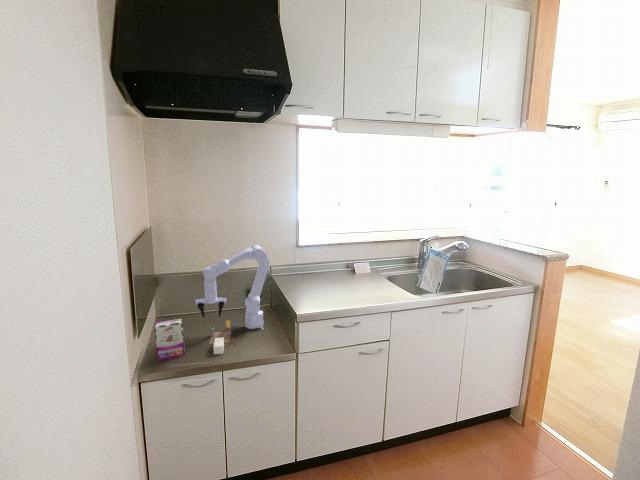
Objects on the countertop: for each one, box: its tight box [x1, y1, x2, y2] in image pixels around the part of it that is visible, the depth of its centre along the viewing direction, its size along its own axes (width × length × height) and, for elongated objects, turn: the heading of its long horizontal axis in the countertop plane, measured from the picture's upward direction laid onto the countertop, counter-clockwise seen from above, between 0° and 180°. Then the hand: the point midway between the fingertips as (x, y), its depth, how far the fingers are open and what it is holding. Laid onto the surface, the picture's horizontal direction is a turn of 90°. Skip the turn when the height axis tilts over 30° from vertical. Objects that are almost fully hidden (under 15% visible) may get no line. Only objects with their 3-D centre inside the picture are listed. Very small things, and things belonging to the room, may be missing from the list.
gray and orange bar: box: [225, 320, 246, 329], centre depth 167 cm, size 10×2×3 cm, turn 102°
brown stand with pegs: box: [209, 327, 232, 345], centre depth 164 cm, size 10×11×5 cm
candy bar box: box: [154, 317, 186, 362], centre depth 147 cm, size 11×5×16 cm, turn 114°
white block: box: [212, 337, 225, 355], centre depth 154 cm, size 4×8×4 cm, turn 13°
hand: (211, 316), depth 168 cm, fingers open, 7 cm apart
